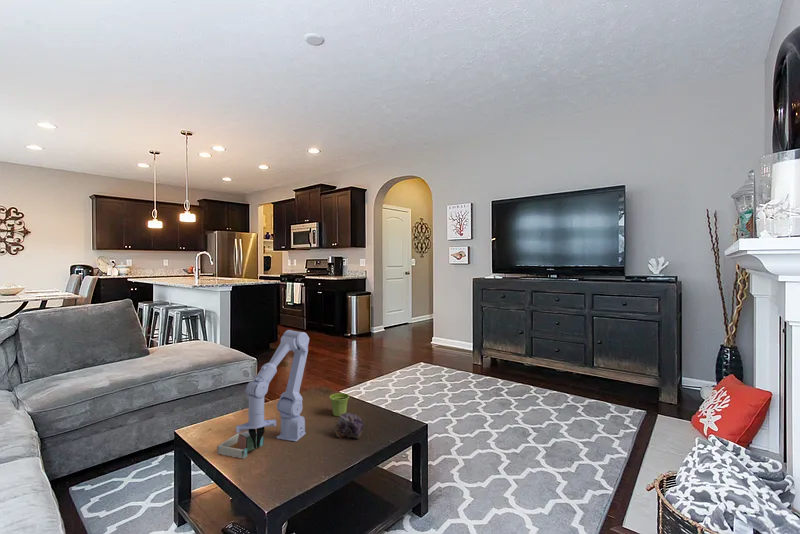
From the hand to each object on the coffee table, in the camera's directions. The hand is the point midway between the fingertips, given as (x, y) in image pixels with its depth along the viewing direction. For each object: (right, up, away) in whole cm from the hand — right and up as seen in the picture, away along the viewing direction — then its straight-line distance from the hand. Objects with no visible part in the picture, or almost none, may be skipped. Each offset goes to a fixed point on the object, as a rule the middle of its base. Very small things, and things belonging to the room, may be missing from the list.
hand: (256, 447), depth 153 cm
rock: (+34, -2, +15) cm, 38 cm away
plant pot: (+27, -1, +37) cm, 45 cm away
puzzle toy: (-4, -2, +3) cm, 5 cm away
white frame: (-7, -2, +3) cm, 8 cm away
